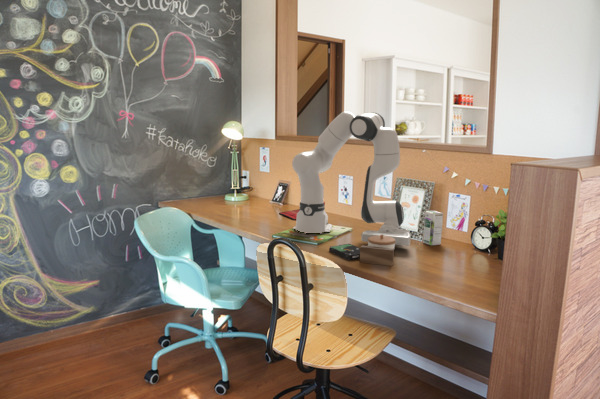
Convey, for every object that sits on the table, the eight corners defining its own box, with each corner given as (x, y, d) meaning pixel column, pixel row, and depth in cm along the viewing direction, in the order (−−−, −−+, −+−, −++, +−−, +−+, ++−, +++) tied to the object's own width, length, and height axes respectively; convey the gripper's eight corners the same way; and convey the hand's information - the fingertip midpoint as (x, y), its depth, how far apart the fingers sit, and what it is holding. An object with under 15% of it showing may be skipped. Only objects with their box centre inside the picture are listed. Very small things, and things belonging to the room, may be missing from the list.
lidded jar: (400, 259, 183) (401, 236, 182) (379, 263, 177) (380, 239, 176) (381, 252, 192) (382, 230, 190) (361, 256, 186) (362, 233, 185)
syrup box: (422, 242, 209) (424, 210, 207) (433, 241, 211) (435, 210, 209) (430, 245, 204) (432, 213, 201) (441, 244, 206) (443, 212, 204)
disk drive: (370, 258, 185) (348, 249, 198) (371, 252, 185) (349, 242, 198) (349, 262, 180) (328, 252, 193) (349, 255, 180) (328, 245, 192)
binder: (302, 208, 276) (319, 215, 258) (302, 212, 276) (319, 219, 258) (277, 211, 269) (293, 218, 250) (277, 215, 269) (294, 222, 251)
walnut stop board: (360, 260, 181) (361, 245, 180) (393, 264, 177) (393, 248, 176) (359, 262, 179) (360, 247, 178) (392, 265, 175) (393, 250, 174)
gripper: (364, 225, 204) (358, 232, 191) (412, 229, 198) (408, 237, 185) (364, 239, 205) (357, 247, 192) (411, 244, 199) (408, 252, 186)
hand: (383, 242), depth 189 cm, fingers closed, pressing on lidded jar
